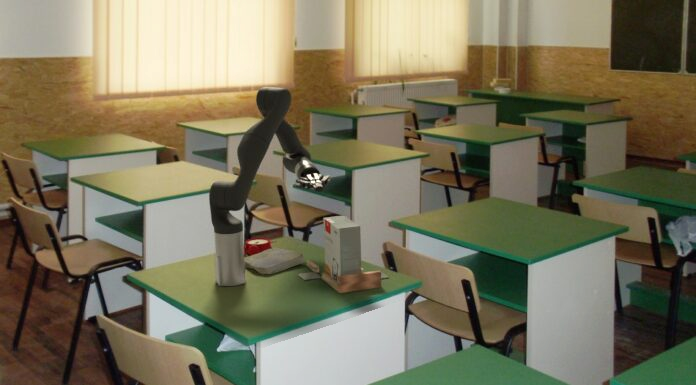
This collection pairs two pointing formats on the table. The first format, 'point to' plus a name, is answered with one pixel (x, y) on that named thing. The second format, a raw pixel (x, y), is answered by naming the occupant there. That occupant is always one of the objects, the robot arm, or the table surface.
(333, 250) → the hard drive box
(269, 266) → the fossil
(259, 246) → the alarm clock
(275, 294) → the table surface
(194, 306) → the table surface
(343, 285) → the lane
